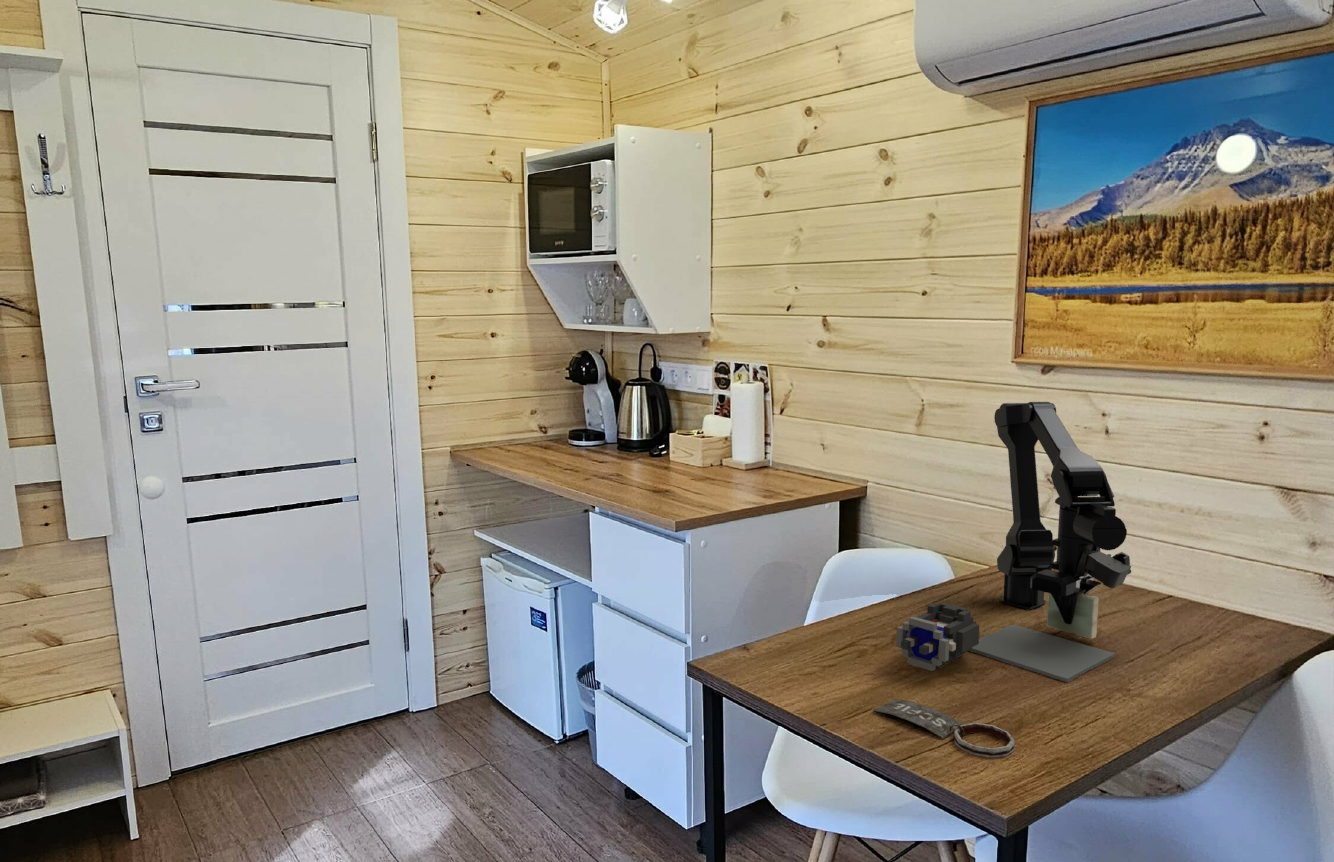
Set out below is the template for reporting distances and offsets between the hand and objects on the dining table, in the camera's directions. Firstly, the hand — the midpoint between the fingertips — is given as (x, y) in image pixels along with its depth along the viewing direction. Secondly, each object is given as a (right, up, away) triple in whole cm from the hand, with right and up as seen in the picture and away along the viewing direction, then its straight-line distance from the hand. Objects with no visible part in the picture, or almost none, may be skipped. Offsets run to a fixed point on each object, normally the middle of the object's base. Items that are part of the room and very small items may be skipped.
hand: (1071, 622), depth 154 cm
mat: (-9, -4, -6) cm, 11 cm away
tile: (0, -2, 0) cm, 2 cm away
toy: (-27, -5, -11) cm, 29 cm away
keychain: (-32, -8, -33) cm, 47 cm away
